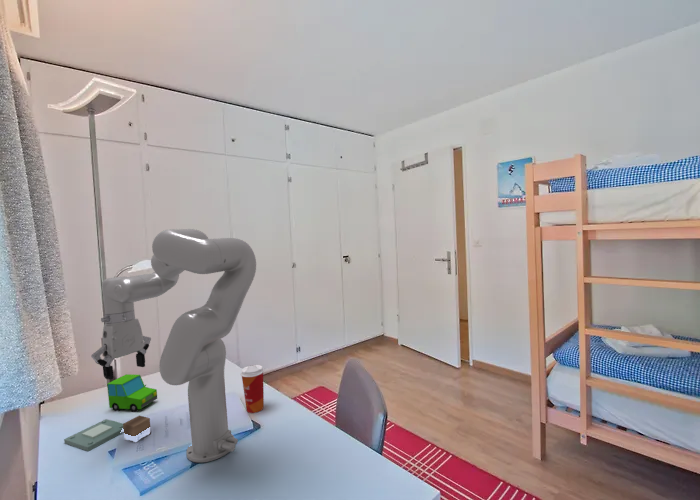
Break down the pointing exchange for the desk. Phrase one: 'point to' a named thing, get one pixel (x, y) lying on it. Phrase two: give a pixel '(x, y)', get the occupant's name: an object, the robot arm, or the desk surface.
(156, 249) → the robot arm
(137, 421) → the walnut cube
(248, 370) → the paper cup
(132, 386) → the toy car
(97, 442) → the baseplate
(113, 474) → the desk surface
